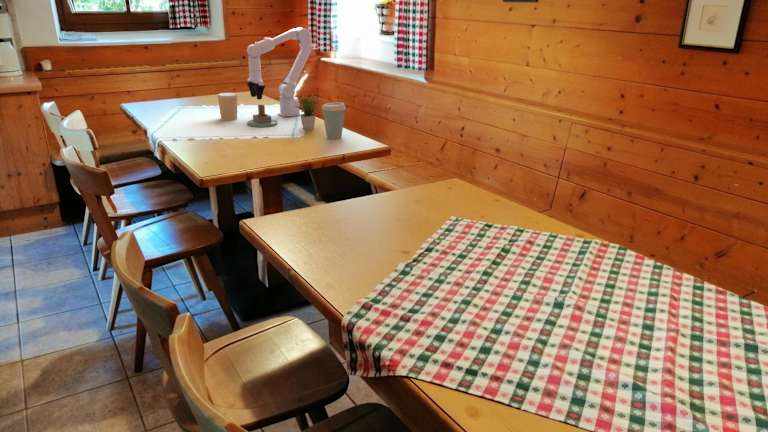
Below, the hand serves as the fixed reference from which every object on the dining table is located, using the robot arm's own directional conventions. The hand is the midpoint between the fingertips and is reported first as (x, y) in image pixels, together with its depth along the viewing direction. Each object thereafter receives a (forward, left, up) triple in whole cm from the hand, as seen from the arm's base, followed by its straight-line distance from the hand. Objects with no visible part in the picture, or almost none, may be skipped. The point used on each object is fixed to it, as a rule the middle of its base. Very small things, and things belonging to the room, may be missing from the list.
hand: (256, 98), depth 281 cm
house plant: (-11, +35, -10) cm, 38 cm away
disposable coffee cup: (-14, +54, -10) cm, 57 cm away
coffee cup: (+14, -2, -10) cm, 17 cm away
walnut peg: (+4, +16, -8) cm, 19 cm away
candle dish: (+4, +16, -9) cm, 19 cm away
